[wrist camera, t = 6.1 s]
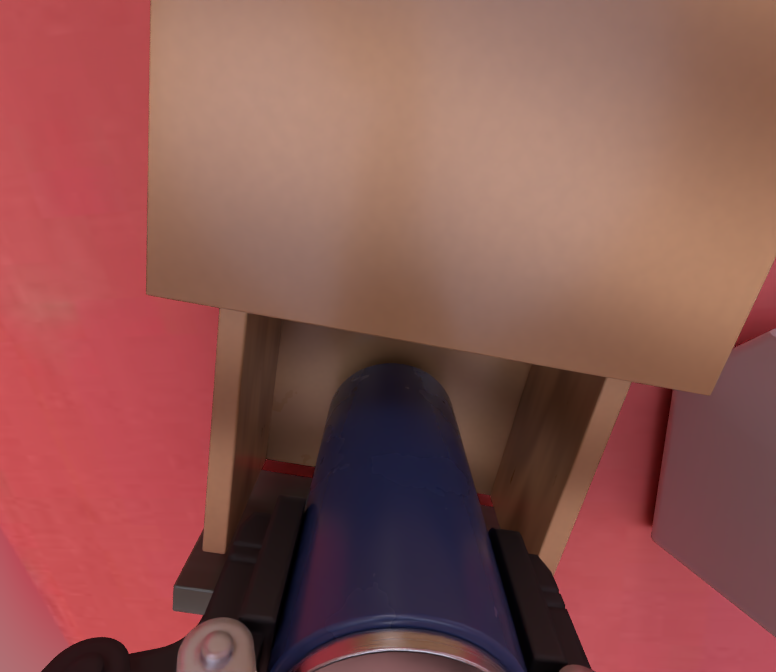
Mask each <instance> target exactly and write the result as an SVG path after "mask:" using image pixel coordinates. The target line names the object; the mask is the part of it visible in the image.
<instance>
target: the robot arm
mask: <svg viewBox="0 0 776 672" xmlns="http://www.w3.org/2000/svg"><path fill="white" fill-rule="evenodd" d="M305 505H306V498H301V497H295V496H288V495H282V494H279V496H278V499H277V502H276V505H275V508H274V511H273V514H268V513H261V512H254V513H253V514H252V515H251V516H250V517H249V518H247V519H246V520H245V521H244V522H243V523H242V524H241V525H240V528H239V530H238V533H237V535H236V538H235V540H234V543H233V545H232V547H231V550H230V552H229V555H228V558H227V560H226V562H225V564H224V567H223V569H222V572H221V574H220V577H219V579H218V581H217V584H216V586H215V589H214V591H213V594H212V596H211V599H210V601H209V603H208V606H207V608H206V611H205V613H204V615H203V617H202V619H201V621H200V622H199V624H198V625H197V626H196V627H195V628H194V629H192V630H191V631H190V632H189V633H188V634H187V636H185V637H184V638H182V639H181V640H179V641H177V642H175V643H173V644H171V645H168V646H166V647H162V648H158V649H152V650H147V651H142V652H137V653H131V654H128V651H127V649H126V648H125V646H124V645H123V644H122V643H120V642H119V641H117V640H115V639H112V638H106V637H97V638H91V639H86V640H83V641H80V642H78V643H76V644H74V645H72V646H70V647H69V648H67V649H65V650H64V651H62V652H61V653H60V654H58V655H57V656H56V657H55V658H54V659H53V660H52V661H51V662H50V663H49V664H48V665H47V666H46V667H45V668H44V669H43V670H42V671H41V672H266V670H267V666H268V662H269V658H270V654H271V650H272V646H273V642H274V637H275V633H276V629H277V625H278V621H279V616H280V612H281V608H282V604H283V600H284V596H285V591H286V587H287V583H288V579H289V575H290V570H291V566H292V562H293V558H294V554H295V549H296V545H297V541H298V537H299V533H300V529H301V524H302V520H303V516H304V511H305ZM488 534H489V538H490V542H491V545H492V549H493V552H494V556H495V559H496V563H497V566H498V570H499V574H500V577H501V581H502V584H503V588H504V591H505V595H506V598H507V602H508V606H509V609H510V613H511V616H512V620H513V623H514V627H515V630H516V634H517V638H518V641H519V645H520V648H521V652H522V655H523V659H524V662H525V666H526V670H527V672H595V671H593V670H592V669H591V667H590V665H589V662H588V660H587V657H586V655H585V652H584V650H583V648H582V645H581V643H580V640H579V638H578V635H577V633H576V631H575V628H574V626H573V623H572V621H571V618H570V616H569V614H568V611H567V609H565V604H564V601H563V599H562V597H561V594H559V589H558V587H557V584H556V582H555V580H554V577H553V575H552V572H551V571H550V570H549V568H548V567H547V566H546V565H545V563H544V562H543V561H542V560H541V559H540V557H539V556H538V555H535V554H529V553H528V551H527V549H526V546H525V543H524V541H523V538H522V535H521V534H520V533H519V532H518V531H512V530H505V529H499V528H490V530H489V531H488Z"/></svg>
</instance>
